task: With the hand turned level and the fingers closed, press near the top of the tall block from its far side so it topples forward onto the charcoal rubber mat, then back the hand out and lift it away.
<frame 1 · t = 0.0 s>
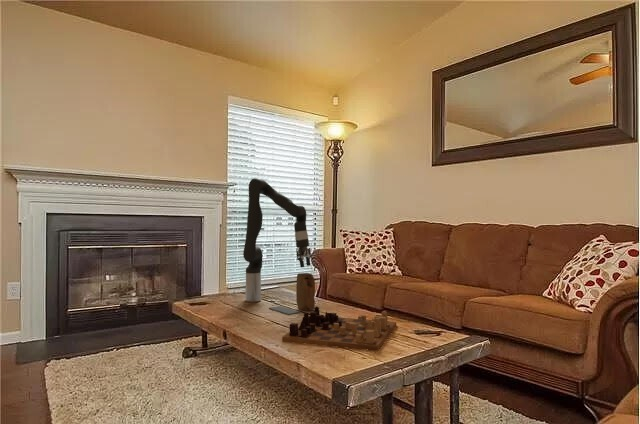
hand: (305, 266, 252), 22 cm above the table, tool pointing down, fingers open, 8 cm apart
gameboard: (342, 335, 189), on the table
mat: (284, 310, 236), on the table
block: (306, 309, 239), on the table
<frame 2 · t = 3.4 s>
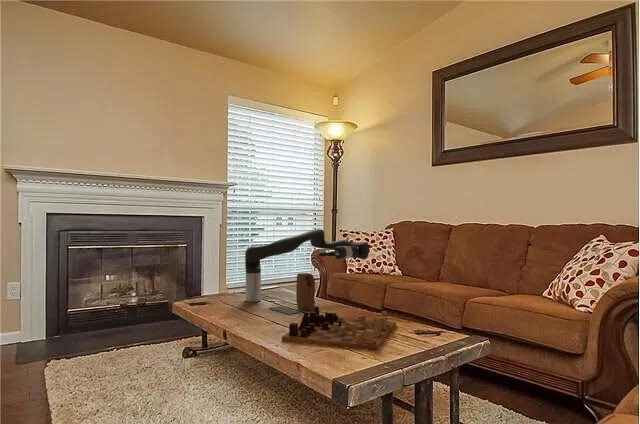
hand: (319, 254, 245), 30 cm above the table, tool horizontal, fingers closed
nothing on the table moved.
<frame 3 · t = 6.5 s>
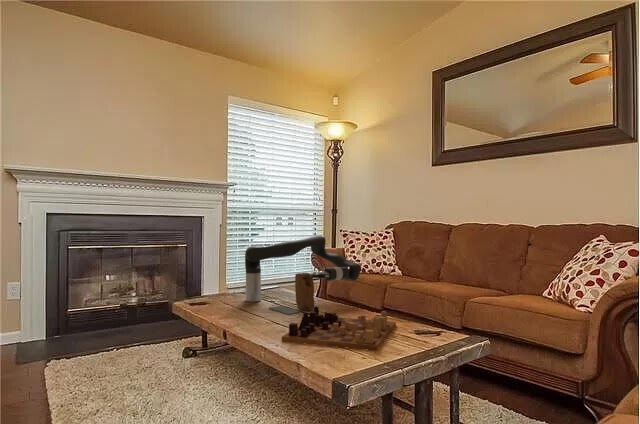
hand: (309, 276, 240), 18 cm above the table, tool horizontal, fingers closed
block: (306, 309, 239), on the table, touching gripper
everything else where it was.
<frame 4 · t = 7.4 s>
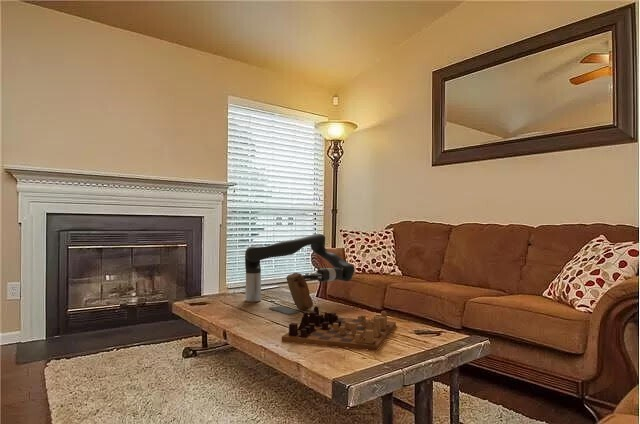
hand: (301, 277, 237), 18 cm above the table, tool horizontal, fingers closed
block: (305, 307, 239), point 1 cm above the table
everything else where it was.
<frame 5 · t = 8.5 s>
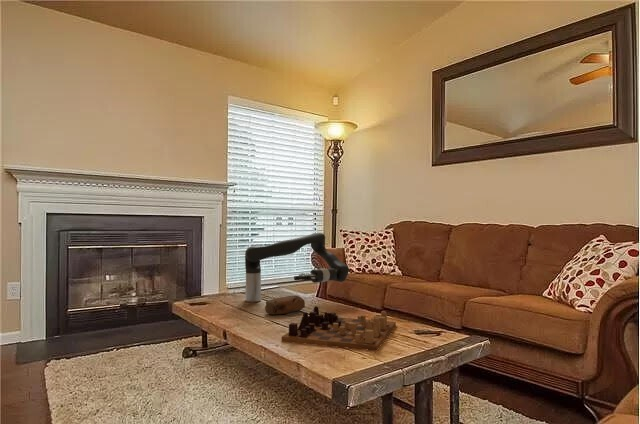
hand: (294, 278, 235), 18 cm above the table, tool horizontal, fingers closed
block: (300, 302, 237), point 4 cm above the table, touching mat
everything else where it was.
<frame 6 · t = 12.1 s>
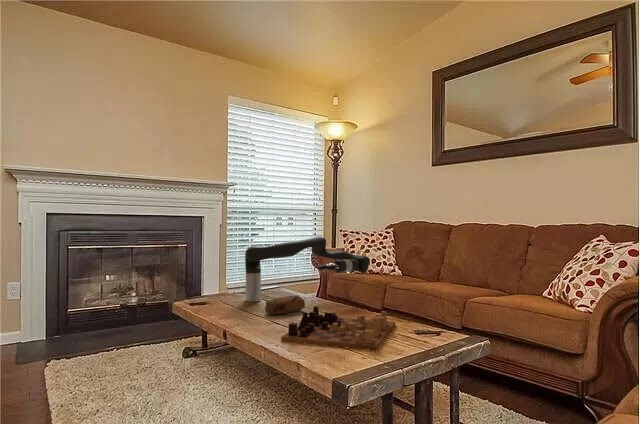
hand: (319, 267, 245), 22 cm above the table, tool horizontal, fingers closed
nothing on the table moved.
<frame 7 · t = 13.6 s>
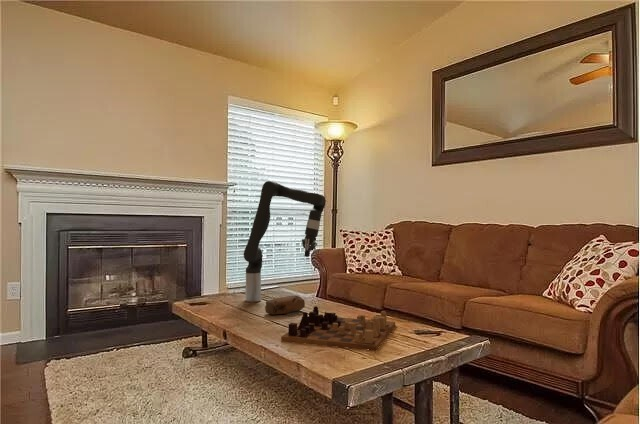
hand: (306, 256, 251), 28 cm above the table, tool pointing down, fingers closed
nothing on the table moved.
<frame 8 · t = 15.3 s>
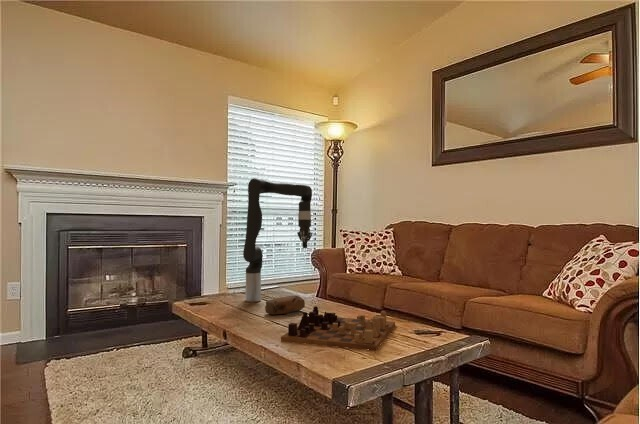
hand: (304, 248, 254), 33 cm above the table, tool pointing down, fingers closed
nothing on the table moved.
at the end: block tilted 91°; block inside the target area (1.6 cm from its centre), point 4.4 cm above the table; block touching mat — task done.
